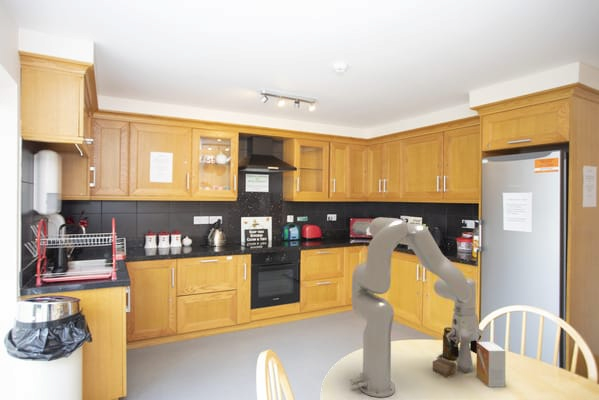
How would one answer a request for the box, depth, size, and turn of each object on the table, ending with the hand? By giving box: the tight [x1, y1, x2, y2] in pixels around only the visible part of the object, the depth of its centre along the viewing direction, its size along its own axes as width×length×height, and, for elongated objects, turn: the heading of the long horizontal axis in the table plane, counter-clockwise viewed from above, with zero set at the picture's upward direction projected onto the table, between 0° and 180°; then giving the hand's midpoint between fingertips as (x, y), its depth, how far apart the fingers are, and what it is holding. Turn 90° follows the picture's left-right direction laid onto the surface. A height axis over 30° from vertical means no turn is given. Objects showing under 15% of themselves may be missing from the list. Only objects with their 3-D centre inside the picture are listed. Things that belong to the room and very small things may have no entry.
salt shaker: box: [456, 341, 474, 373], centre depth 135 cm, size 6×6×13 cm
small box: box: [475, 341, 506, 388], centre depth 126 cm, size 8×6×13 cm
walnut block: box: [432, 358, 457, 378], centre depth 133 cm, size 6×6×4 cm
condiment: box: [436, 326, 457, 364], centre depth 145 cm, size 7×8×12 cm
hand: (464, 354), depth 135 cm, fingers open, 9 cm apart
